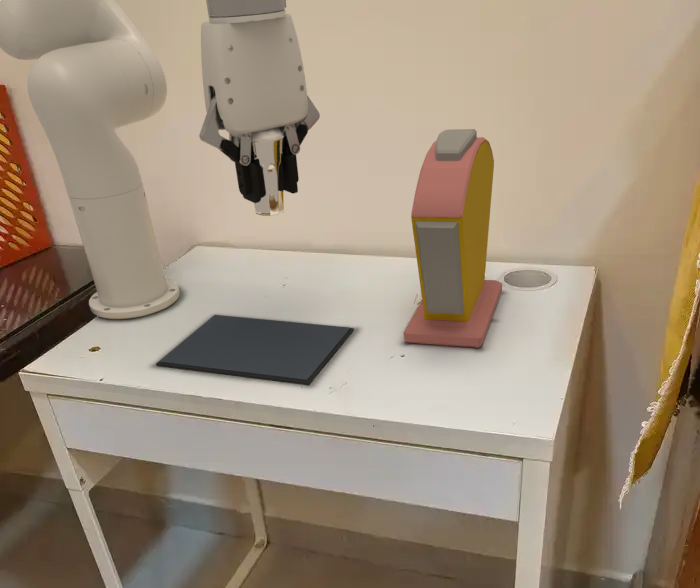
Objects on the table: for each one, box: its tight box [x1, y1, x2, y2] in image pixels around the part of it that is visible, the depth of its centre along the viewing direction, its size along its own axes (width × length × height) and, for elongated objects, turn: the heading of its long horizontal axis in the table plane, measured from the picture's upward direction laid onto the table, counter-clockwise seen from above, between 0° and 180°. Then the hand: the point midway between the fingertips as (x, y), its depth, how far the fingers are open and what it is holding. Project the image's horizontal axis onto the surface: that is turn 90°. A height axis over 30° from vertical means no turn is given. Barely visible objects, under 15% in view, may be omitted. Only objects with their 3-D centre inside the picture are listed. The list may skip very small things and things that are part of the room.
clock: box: [403, 128, 503, 349], centre depth 84 cm, size 22×9×22 cm, turn 162°
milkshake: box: [251, 125, 286, 217], centre depth 79 cm, size 5×5×10 cm
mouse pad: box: [155, 314, 355, 386], centre depth 88 cm, size 20×14×1 cm
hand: (270, 193), depth 81 cm, fingers closed on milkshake, 4 cm apart
